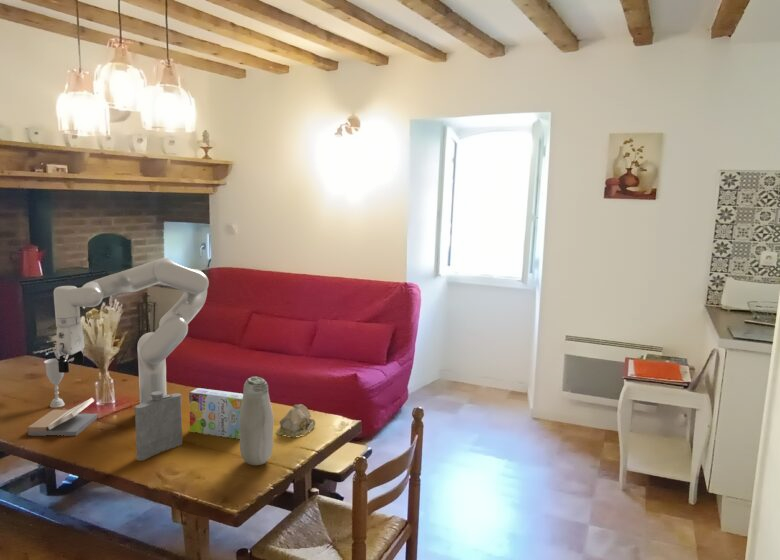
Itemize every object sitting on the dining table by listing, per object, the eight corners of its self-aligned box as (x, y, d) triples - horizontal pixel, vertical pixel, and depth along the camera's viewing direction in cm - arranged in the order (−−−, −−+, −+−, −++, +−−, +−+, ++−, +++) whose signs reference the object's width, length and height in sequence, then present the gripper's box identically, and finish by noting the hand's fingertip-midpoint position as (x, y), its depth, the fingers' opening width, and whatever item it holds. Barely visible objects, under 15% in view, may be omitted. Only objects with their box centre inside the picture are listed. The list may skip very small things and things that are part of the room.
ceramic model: (295, 441, 193) (295, 414, 191) (270, 433, 198) (271, 406, 197) (320, 427, 204) (320, 401, 203) (296, 420, 210) (297, 395, 209)
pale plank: (94, 400, 205) (92, 397, 205) (73, 416, 191) (71, 413, 190) (72, 413, 206) (69, 409, 205) (49, 429, 191) (47, 426, 191)
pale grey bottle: (279, 462, 177) (279, 378, 172) (251, 473, 169) (251, 385, 165) (260, 452, 183) (260, 370, 179) (233, 462, 176) (232, 377, 171)
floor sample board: (97, 417, 207) (97, 409, 206) (76, 435, 191) (75, 427, 191) (53, 417, 206) (53, 409, 206) (28, 435, 190) (27, 427, 190)
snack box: (250, 434, 197) (250, 393, 194) (241, 440, 191) (241, 399, 189) (198, 426, 202) (197, 386, 200) (188, 432, 197) (187, 391, 195)
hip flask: (140, 461, 174) (138, 400, 171) (133, 457, 177) (130, 398, 174) (184, 444, 187) (182, 387, 185) (176, 440, 190) (175, 384, 187)
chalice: (71, 402, 221) (69, 358, 218) (60, 408, 214) (57, 364, 211) (54, 401, 221) (52, 357, 219) (42, 407, 215) (39, 362, 212)
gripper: (65, 327, 186) (69, 376, 189) (91, 315, 203) (94, 360, 206) (42, 326, 186) (46, 375, 189) (71, 315, 203) (74, 360, 206)
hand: (71, 368), depth 197 cm, fingers open, 9 cm apart
